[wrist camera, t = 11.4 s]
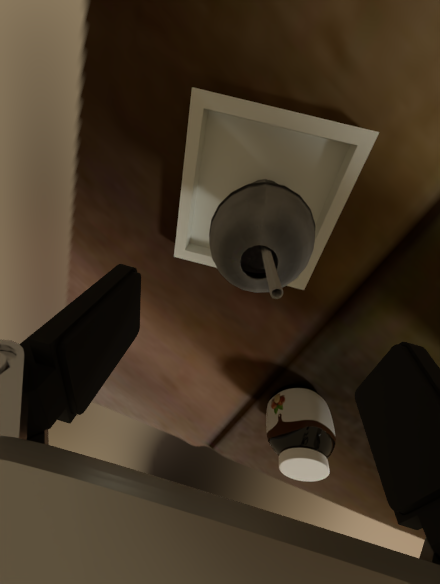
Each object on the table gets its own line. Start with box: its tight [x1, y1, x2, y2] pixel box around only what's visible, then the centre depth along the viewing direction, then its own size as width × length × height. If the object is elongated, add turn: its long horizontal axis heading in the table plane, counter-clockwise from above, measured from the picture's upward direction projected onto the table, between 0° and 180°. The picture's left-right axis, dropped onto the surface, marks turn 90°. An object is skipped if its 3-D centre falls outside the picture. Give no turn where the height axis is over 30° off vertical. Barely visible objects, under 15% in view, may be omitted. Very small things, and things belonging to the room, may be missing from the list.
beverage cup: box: [209, 179, 316, 299], centre depth 18 cm, size 7×7×20 cm
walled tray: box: [174, 87, 379, 290], centre depth 26 cm, size 16×16×3 cm
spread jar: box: [266, 385, 336, 481], centre depth 40 cm, size 12×11×12 cm
